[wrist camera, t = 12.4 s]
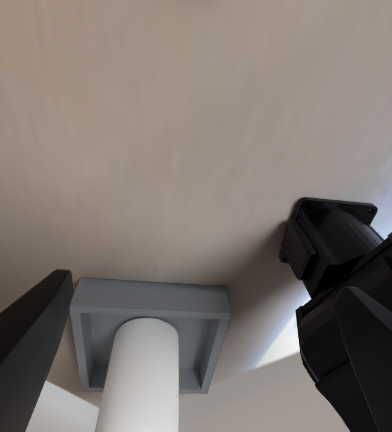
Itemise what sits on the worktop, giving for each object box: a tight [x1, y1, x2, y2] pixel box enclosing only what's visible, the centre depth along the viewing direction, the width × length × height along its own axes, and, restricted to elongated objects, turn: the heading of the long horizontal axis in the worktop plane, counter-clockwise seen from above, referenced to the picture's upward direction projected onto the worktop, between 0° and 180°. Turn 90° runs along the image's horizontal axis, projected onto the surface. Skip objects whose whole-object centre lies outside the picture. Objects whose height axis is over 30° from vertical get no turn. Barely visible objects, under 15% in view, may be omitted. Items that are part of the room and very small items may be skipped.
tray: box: [69, 278, 231, 394], centre depth 29 cm, size 14×14×3 cm
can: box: [95, 317, 179, 432], centre depth 25 cm, size 6×6×12 cm
